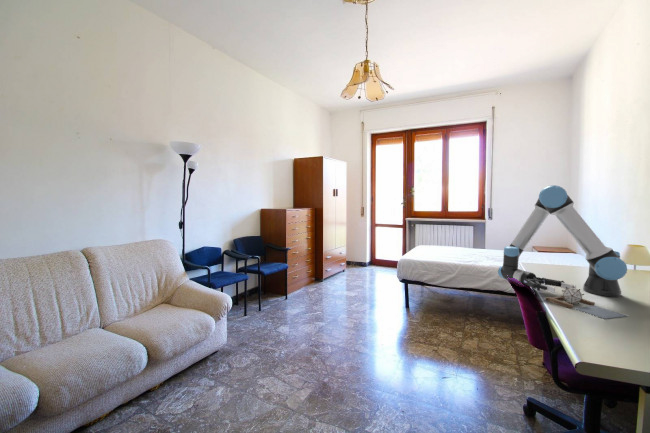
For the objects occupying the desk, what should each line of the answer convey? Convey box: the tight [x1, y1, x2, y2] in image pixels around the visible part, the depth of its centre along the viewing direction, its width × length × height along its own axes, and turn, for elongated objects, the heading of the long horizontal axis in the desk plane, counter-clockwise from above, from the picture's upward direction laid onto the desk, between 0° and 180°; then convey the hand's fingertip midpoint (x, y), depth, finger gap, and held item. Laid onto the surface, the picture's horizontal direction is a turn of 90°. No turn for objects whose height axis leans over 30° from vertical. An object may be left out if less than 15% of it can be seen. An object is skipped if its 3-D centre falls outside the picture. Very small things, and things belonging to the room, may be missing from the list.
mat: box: [573, 305, 628, 320], centre depth 133 cm, size 14×12×1 cm
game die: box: [560, 285, 585, 305], centre depth 143 cm, size 9×8×10 cm
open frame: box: [545, 295, 595, 309], centre depth 145 cm, size 16×11×2 cm
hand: (565, 289), depth 146 cm, fingers open, 13 cm apart
